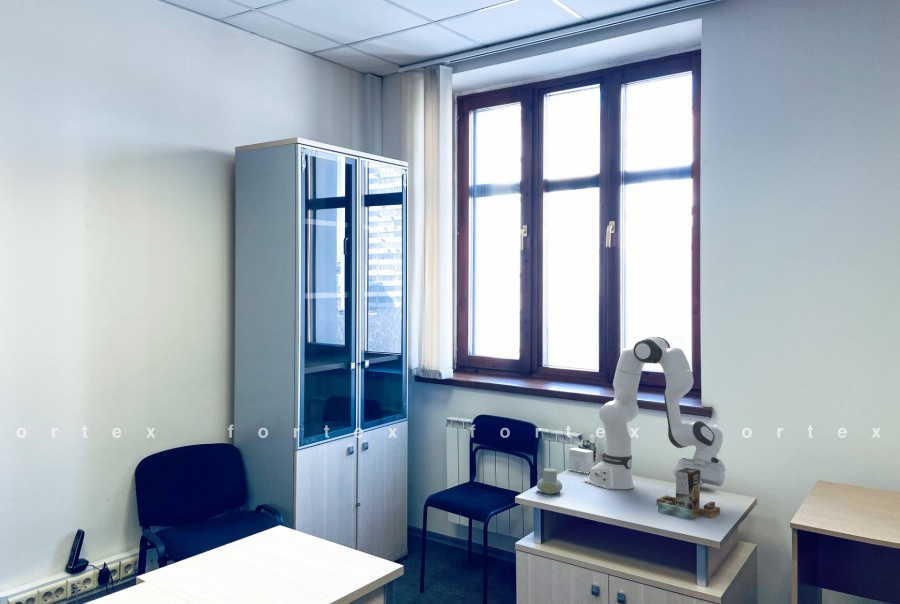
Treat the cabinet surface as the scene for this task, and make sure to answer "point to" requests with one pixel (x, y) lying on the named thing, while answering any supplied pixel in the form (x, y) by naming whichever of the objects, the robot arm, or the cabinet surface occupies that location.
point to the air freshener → (549, 482)
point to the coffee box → (688, 488)
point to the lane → (668, 508)
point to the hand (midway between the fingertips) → (692, 489)
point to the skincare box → (580, 459)
